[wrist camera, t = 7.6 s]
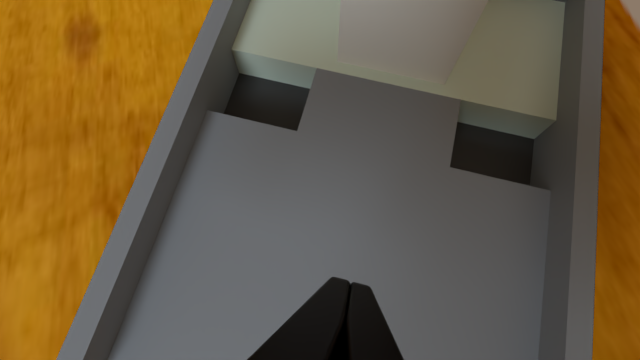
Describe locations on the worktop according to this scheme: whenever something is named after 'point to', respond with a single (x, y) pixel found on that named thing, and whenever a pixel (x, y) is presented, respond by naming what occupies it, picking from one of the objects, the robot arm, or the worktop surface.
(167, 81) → the worktop surface
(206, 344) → the gray open tray
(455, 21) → the cream block
